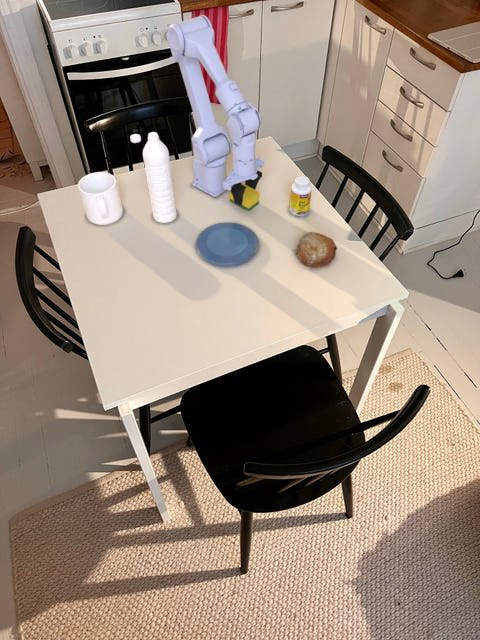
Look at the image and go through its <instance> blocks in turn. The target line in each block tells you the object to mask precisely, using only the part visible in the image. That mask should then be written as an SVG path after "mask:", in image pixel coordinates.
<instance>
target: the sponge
mask: <svg viewBox="0 0 480 640" xmlns="http://www.w3.org/2000/svg"><path fill="white" fill-rule="evenodd" d="M240 183H242V185H243V186H245V187H246V189H245V191H244V194H243V202H242V205H241V206H240V205H238V204H236V203H235V201H234V198H233V195H232V193H231V191H228V192H229V195H228V196H229V202H230V203H232V204H233V205H236V206H238V207H239V208H242V209H244V210H245V211H247V212H250V211H251V210H253V209H254V208H255V207H257V206H258V205H259V204H260V191H259V190H257V189H253V188H251V187H249V186H247V185H245V183H243V182H240Z"/></svg>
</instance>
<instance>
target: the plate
mask: <svg viewBox="0 0 480 640" xmlns="http://www.w3.org/2000/svg"><path fill="white" fill-rule="evenodd" d="M196 240H197V241H196V249H197V252H198V255H199V256H200V257H201V258H202V260H204V261H206V262H207V263H209V264H211V265H213V266H216V267H222V268H223V267H225V268H229V267H230V268H231V267H236V266H241V265H243V264H245V263H247V262H249V261H250V260H252V258H253V257H254V256H255V255H256V253H257V251H258V245H259V242H258V241H259V240H258V237H257V235H256V234H255V232H254V231H253V230H252V229H251V228H249V227H248V226H246V225H244V224H241V223H237V222H226V221H225V222H219V223H215V224H212V225H210V226H207V227H206V228H204V229H203V230H202V231H201V232H200V233H199V235H198V237H197V239H196Z"/></svg>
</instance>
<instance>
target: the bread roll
mask: <svg viewBox="0 0 480 640" xmlns="http://www.w3.org/2000/svg"><path fill="white" fill-rule="evenodd" d="M337 250H338V247H337V245H336V243H335V241H334V239H333V238H331V237H329V236H327V235H325V234H322V233H320V232H316V231H309V232H306V233H305V234H304V235H303V236H301V238H300V239H299V240H298V244H297V249H296V250H295V255H297V259H298V260H299V262H300V263H301V264H302V265H303V266H305V267H308V268H313V269H317V268H323V267H325V266H327V265H329V264H330V263H331V262H333V260H334V259H335V257H336V253H337Z"/></svg>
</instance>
